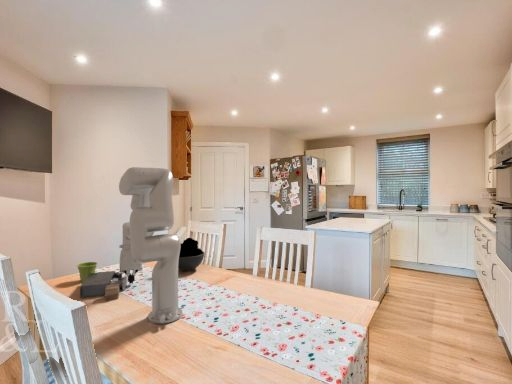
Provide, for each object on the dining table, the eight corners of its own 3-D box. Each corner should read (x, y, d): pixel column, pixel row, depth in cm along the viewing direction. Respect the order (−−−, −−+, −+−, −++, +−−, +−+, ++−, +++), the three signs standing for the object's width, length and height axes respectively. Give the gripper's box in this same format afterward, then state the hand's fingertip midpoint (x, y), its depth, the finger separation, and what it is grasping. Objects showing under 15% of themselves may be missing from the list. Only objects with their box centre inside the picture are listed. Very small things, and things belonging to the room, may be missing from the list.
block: (117, 298, 123) (117, 287, 123) (105, 300, 121) (105, 289, 121) (119, 294, 127) (119, 284, 127) (107, 296, 126) (107, 285, 126)
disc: (100, 286, 132) (100, 283, 132) (103, 282, 138) (103, 278, 138) (116, 285, 134) (116, 281, 134) (118, 280, 141) (118, 277, 141)
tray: (124, 289, 132) (124, 281, 132) (92, 293, 128) (92, 284, 128) (127, 280, 145) (127, 273, 145) (98, 283, 141) (98, 276, 141)
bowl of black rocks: (206, 264, 176) (206, 235, 176) (202, 274, 156) (201, 241, 156) (174, 265, 175) (174, 236, 175) (166, 275, 155) (166, 242, 155)
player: (117, 293, 128) (117, 282, 128) (80, 298, 123) (80, 286, 123) (122, 280, 147) (122, 270, 147) (90, 283, 142) (90, 273, 142)
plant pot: (101, 277, 151) (101, 262, 151) (89, 283, 142) (89, 267, 142) (85, 277, 152) (85, 261, 152) (72, 283, 143) (72, 266, 143)
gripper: (113, 249, 133) (113, 287, 134) (146, 247, 138) (146, 283, 138) (115, 246, 140) (115, 282, 141) (147, 244, 145) (147, 278, 146)
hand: (131, 282), depth 140 cm, fingers closed
